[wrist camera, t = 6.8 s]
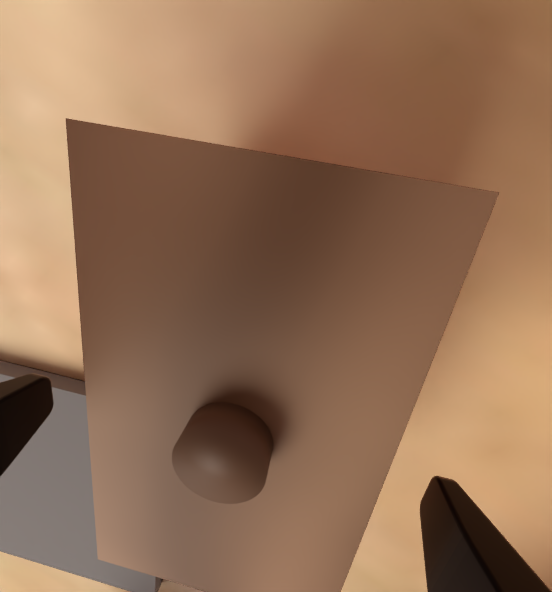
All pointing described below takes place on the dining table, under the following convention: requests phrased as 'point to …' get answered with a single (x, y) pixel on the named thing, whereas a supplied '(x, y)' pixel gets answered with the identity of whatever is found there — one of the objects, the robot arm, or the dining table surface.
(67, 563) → the mat
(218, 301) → the lid
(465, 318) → the dining table surface
